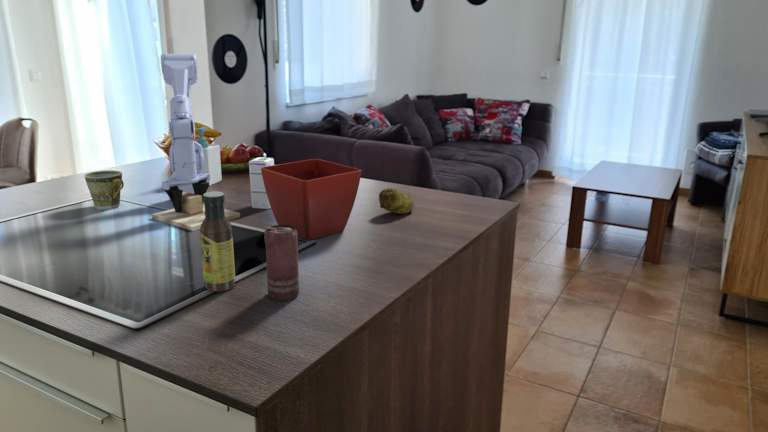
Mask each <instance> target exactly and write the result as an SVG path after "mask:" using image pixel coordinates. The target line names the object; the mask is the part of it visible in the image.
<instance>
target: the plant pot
mask: <svg viewBox="0 0 768 432" xmlns="http://www.w3.org/2000/svg"><path fill="white" fill-rule="evenodd" d="M261 172H262V177H263V182H264V186H265V190H266V194H267V197H268V200H269V203H270V206H271V208H270V209H271V211H272V214H273V216H274V219H275V222H276V223H277V224H276V225H291V226H294V227H295V229H296V231H297V238H301V239H304V240H306V241H310V240H315V239H318V238H322V237H324V236H329V235H332V234H336V233H340V232H343V231H344V230H345V229H346V226H347V224H348V221H349V218H350V216H351V213H352V211H353V208H354V205H355V203H356V199H357V194H358V191H359V185H360V181H361V178H362V177H361V176H362V169H359V168H356V167H352V166H348V165H343V164H340V163H336V162H332V161H328V160H323V159H320V158H313V159H312V158H310V159H305V160H298V161H293V162H292V161H291V162H287V163H281V164H280V163H279V164H274V165H273V166H267V167H262V168H261Z"/></svg>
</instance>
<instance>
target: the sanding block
mask: <svg viewBox="0 0 768 432" xmlns="http://www.w3.org/2000/svg"><path fill="white" fill-rule="evenodd" d="M182 213H184V214H187V215H191V216H192V215H196V214H199V213H203V205H202V196H201V195H197V194H193V193H189V192H183V193H182Z"/></svg>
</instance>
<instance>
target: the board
mask: <svg viewBox="0 0 768 432" xmlns="http://www.w3.org/2000/svg"><path fill="white" fill-rule="evenodd" d="M224 211H225V217H226V218H227V219H228V221H229V222H230V221H231V220H235V219H238V218H240V217H241V213H240V212H237V211H233V210H230V209H226V208H224ZM151 219H153V220H156V221H159V222H162V223H165V224H168V225H172V226H175V227H178V228H182V229H185V230H188V231H191V232H194V231H198V230H200V227H201V224H202V222H203V221H204V219H205V205H204V202H203V213H199V214H196V215H192V216H191V215H187V214H184V213H178V212H175V209H174V208H170V209H168V210H163V211H159V212H156V213H151Z"/></svg>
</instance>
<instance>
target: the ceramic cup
mask: <svg viewBox="0 0 768 432" xmlns="http://www.w3.org/2000/svg"><path fill="white" fill-rule="evenodd" d="M84 180H85V182H86V186H87V189H88V190H89V194H90V196H91V199H92V203H93V205H94V208H95V209H96V210H100V211H106V210H114V209H117V208H119V206H120V204H121V191H122V189H123V188H124V185H125V184H124V181H123V172H122V171H119V170H113V169H109V170H107V169H106V170H97V171H92V172H87V173H86V174H84Z"/></svg>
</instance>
